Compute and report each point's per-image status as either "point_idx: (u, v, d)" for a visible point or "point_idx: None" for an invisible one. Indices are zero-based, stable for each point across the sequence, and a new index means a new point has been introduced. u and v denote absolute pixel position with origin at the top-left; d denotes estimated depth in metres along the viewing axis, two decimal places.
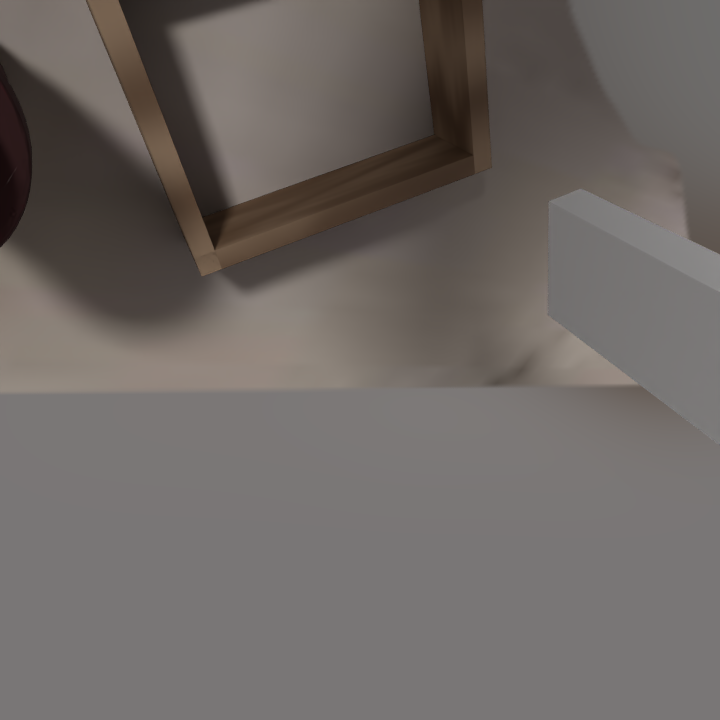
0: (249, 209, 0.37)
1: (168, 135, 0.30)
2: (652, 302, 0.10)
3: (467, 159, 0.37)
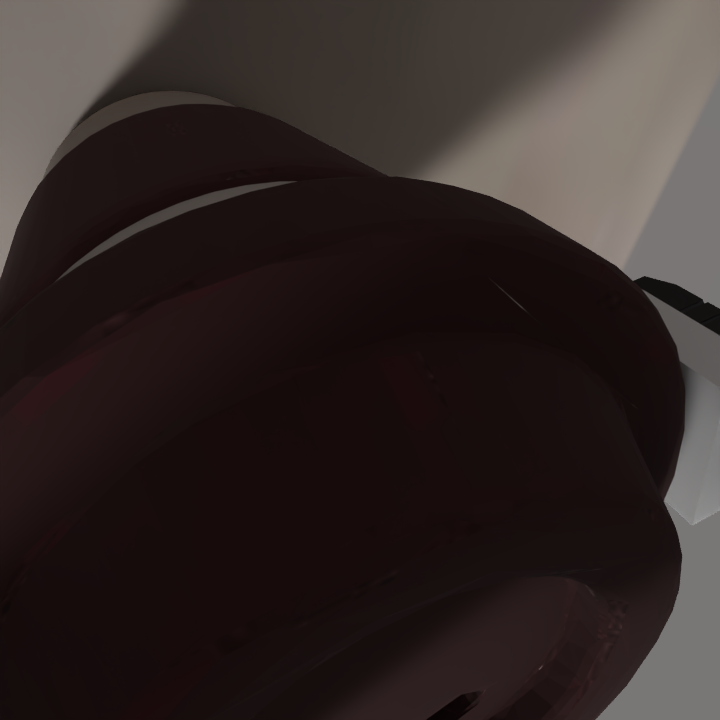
0: None
1: None
2: None
3: None
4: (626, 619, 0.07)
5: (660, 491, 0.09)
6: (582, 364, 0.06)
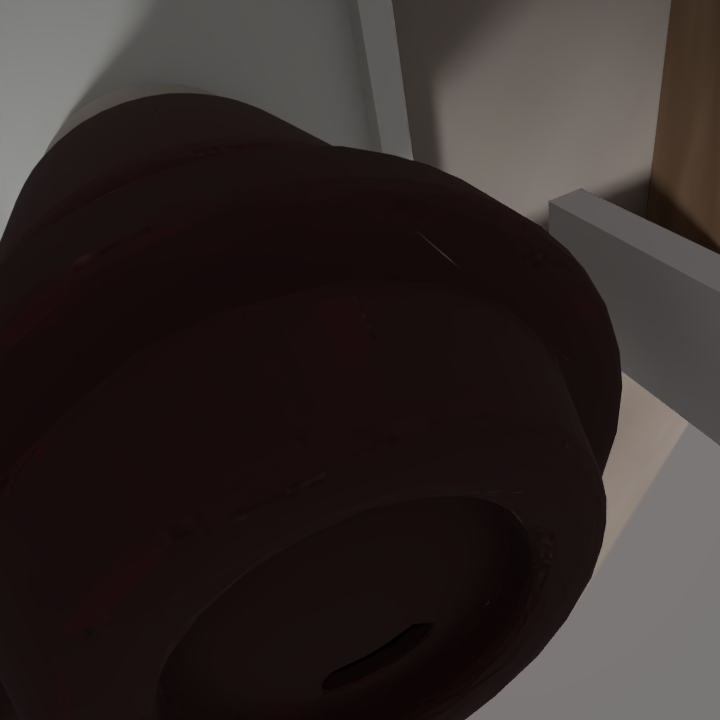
0: (677, 167, 0.26)
1: None
2: (652, 302, 0.10)
3: None
4: (555, 548, 0.07)
5: (603, 446, 0.09)
6: (512, 316, 0.07)
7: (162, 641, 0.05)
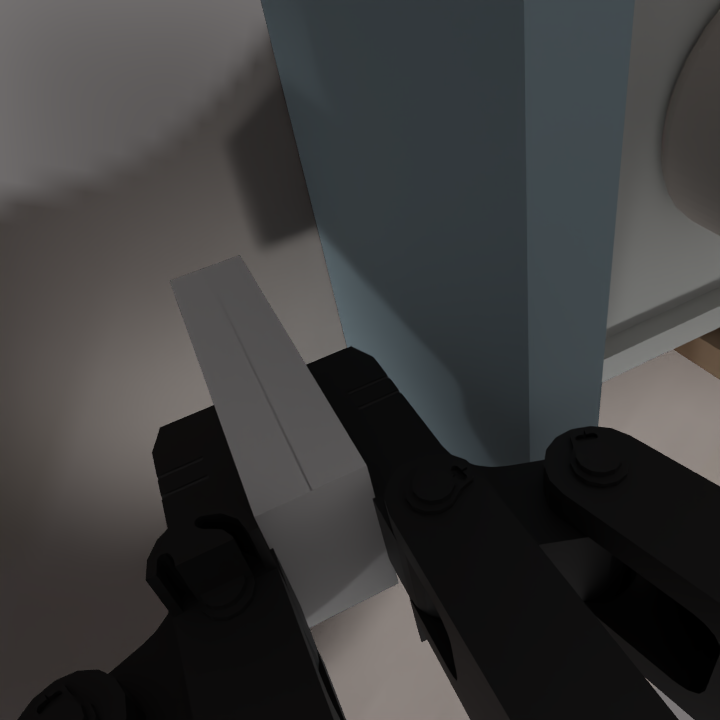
0: None
1: None
2: None
3: None
4: None
5: None
6: None
7: None
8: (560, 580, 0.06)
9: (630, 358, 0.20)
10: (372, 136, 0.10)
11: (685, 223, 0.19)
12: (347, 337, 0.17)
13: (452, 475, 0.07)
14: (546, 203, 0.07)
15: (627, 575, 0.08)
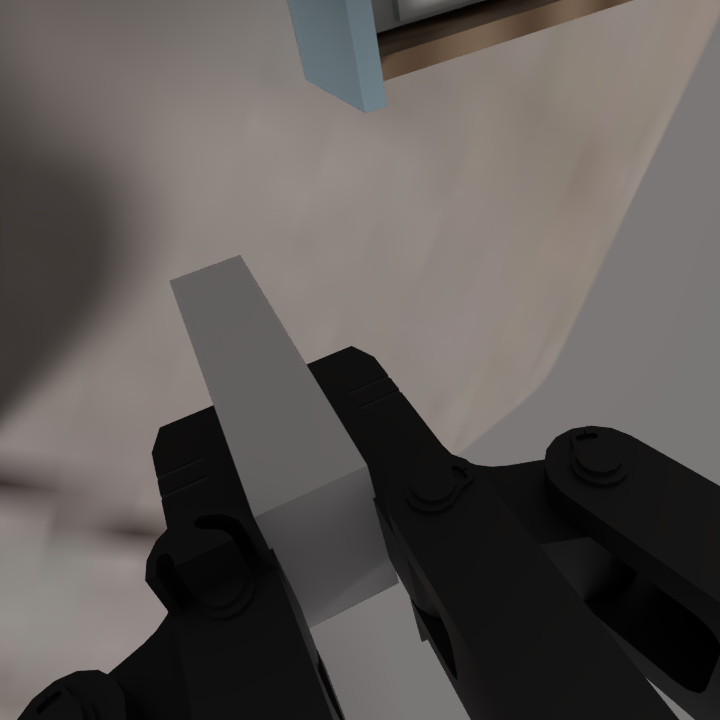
0: None
1: (561, 2, 0.35)
2: None
3: None
4: None
5: None
6: None
7: None
8: (560, 580, 0.06)
9: None
10: None
11: None
12: None
13: (452, 475, 0.07)
14: None
15: (627, 574, 0.08)
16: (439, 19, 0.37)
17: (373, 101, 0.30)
